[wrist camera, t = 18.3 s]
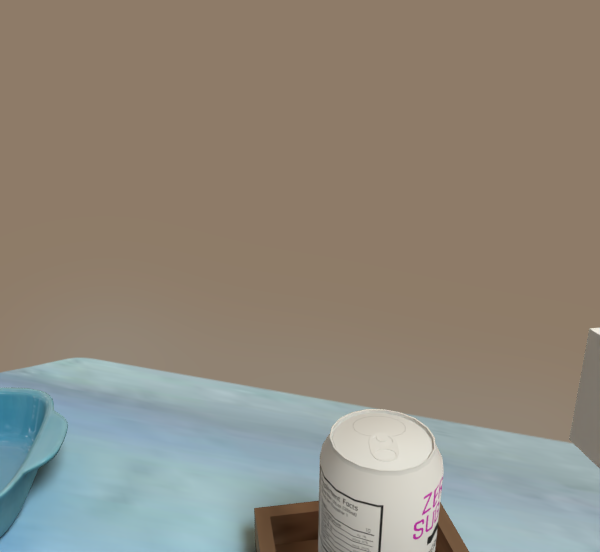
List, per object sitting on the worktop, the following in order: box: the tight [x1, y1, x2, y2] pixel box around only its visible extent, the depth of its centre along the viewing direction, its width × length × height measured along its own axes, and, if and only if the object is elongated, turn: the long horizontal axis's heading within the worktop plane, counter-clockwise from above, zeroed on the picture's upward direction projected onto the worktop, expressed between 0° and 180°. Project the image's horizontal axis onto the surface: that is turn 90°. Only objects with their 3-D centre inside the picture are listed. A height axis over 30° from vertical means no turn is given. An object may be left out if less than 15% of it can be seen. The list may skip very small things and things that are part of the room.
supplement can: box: [318, 409, 443, 552], centre depth 40 cm, size 8×8×15 cm
